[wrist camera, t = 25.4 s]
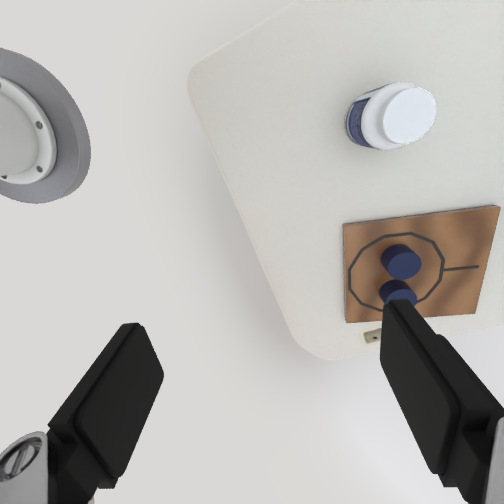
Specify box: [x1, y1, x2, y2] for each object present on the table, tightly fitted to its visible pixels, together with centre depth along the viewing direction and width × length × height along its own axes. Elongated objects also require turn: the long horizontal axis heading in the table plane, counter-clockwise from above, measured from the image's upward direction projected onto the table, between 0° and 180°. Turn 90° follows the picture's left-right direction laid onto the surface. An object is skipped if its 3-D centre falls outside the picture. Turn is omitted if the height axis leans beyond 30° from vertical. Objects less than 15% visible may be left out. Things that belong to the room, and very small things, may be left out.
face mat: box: [343, 205, 501, 323], centre depth 36 cm, size 18×16×1 cm
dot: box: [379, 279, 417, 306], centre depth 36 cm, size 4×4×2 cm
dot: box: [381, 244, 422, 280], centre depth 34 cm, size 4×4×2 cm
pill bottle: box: [345, 82, 437, 150], centre depth 25 cm, size 5×5×10 cm
